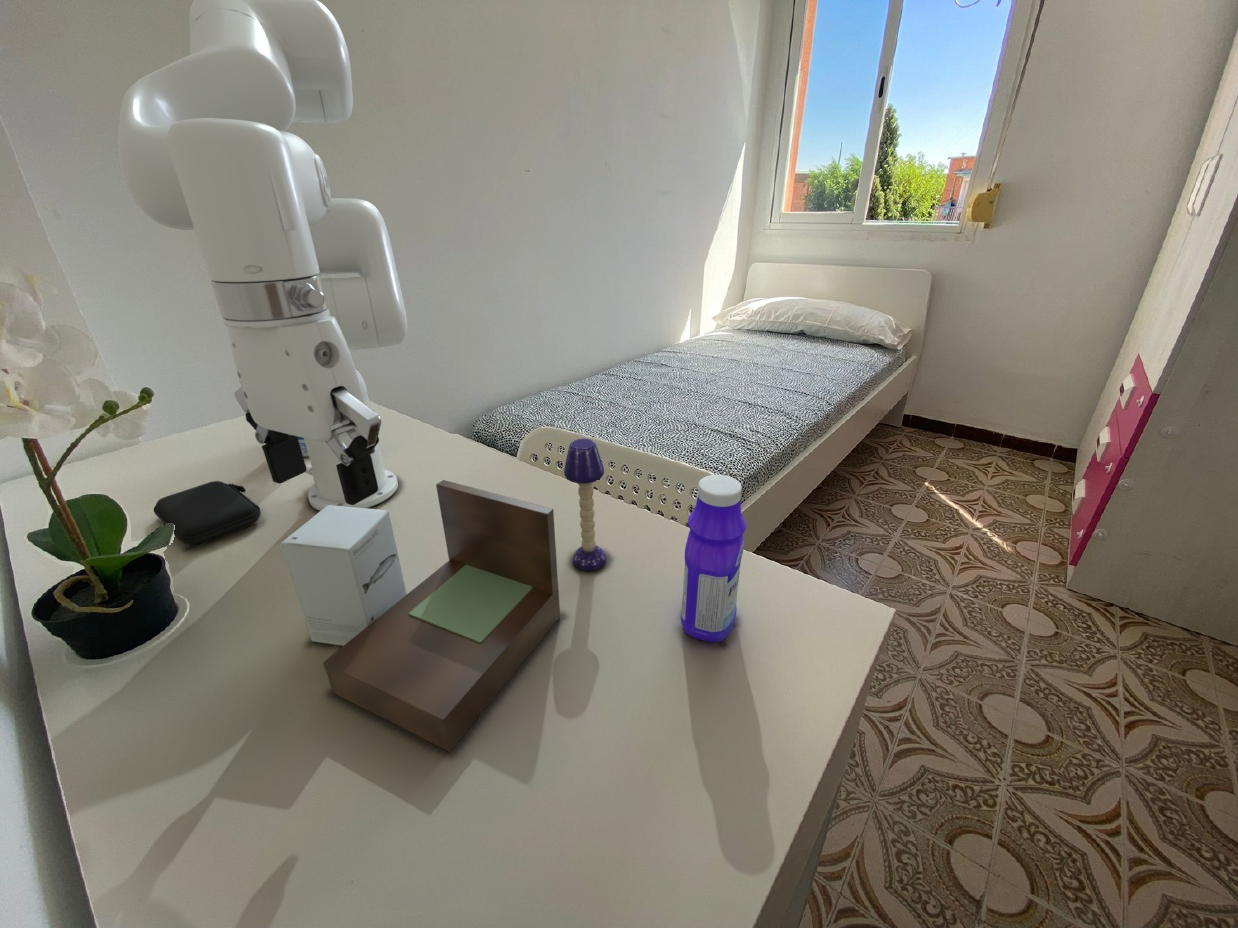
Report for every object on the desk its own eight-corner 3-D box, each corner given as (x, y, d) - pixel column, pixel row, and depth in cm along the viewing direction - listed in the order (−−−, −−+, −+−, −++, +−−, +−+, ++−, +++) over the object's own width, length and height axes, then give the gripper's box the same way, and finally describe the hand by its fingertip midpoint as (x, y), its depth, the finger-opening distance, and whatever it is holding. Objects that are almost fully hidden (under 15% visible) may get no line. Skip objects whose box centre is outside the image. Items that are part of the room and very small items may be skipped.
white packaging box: (375, 652, 56) (347, 550, 50) (309, 642, 57) (275, 542, 51) (411, 603, 62) (390, 508, 56) (352, 596, 63) (326, 502, 58)
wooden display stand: (332, 693, 51) (292, 573, 45) (460, 581, 66) (443, 479, 59) (449, 752, 46) (422, 626, 39) (560, 616, 60) (553, 508, 54)
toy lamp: (601, 575, 67) (598, 453, 59) (564, 571, 67) (557, 449, 60) (609, 553, 71) (608, 435, 63) (574, 548, 72) (569, 432, 64)
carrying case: (276, 520, 78) (236, 488, 86) (270, 502, 76) (230, 471, 85) (189, 555, 70) (154, 517, 78) (180, 535, 69) (145, 498, 77)
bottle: (727, 653, 55) (745, 507, 48) (673, 639, 57) (681, 496, 49) (739, 607, 62) (756, 471, 54) (689, 596, 63) (699, 462, 55)
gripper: (389, 300, 44) (424, 488, 51) (250, 288, 50) (299, 455, 58) (305, 317, 38) (359, 527, 45) (160, 301, 44) (228, 486, 52)
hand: (325, 487), depth 51 cm, fingers open, 9 cm apart
